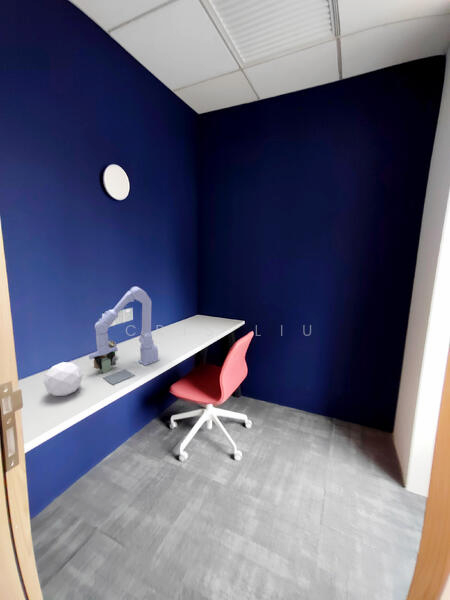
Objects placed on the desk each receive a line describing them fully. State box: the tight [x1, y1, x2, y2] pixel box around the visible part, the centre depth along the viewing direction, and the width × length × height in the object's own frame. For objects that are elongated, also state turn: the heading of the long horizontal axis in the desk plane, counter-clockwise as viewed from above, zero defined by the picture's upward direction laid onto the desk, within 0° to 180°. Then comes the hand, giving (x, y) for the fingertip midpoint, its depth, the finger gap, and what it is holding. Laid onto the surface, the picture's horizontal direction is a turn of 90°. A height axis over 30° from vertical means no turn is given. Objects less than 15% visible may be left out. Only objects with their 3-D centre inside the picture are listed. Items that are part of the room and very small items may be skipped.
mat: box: [102, 368, 136, 386], centre depth 130 cm, size 12×10×1 cm
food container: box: [96, 340, 117, 359], centre depth 151 cm, size 12×6×10 cm, turn 74°
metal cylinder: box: [111, 355, 117, 366], centre depth 144 cm, size 4×4×4 cm
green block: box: [98, 357, 112, 374], centre depth 137 cm, size 4×4×6 cm
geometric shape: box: [43, 361, 83, 397], centre depth 114 cm, size 14×15×15 cm
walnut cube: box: [93, 359, 99, 370], centre depth 141 cm, size 4×4×4 cm
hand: (105, 367), depth 137 cm, fingers closed on green block, 4 cm apart
